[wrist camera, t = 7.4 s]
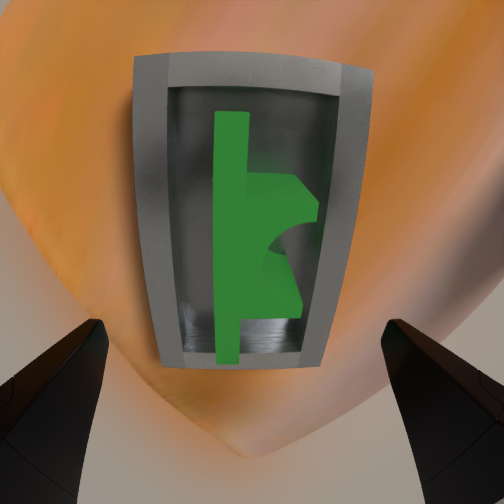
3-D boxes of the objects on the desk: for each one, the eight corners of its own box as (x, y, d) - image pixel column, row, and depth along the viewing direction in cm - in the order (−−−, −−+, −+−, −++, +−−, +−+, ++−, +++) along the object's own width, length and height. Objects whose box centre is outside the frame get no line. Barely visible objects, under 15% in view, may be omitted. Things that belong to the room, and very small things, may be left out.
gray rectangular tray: (350, 75, 13) (373, 70, 10) (310, 337, 20) (319, 366, 18) (151, 64, 12) (134, 56, 9) (168, 336, 20) (162, 366, 17)
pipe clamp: (279, 307, 18) (291, 364, 14) (218, 307, 18) (215, 365, 14) (300, 114, 13) (329, 119, 9) (220, 109, 13) (213, 112, 9)
